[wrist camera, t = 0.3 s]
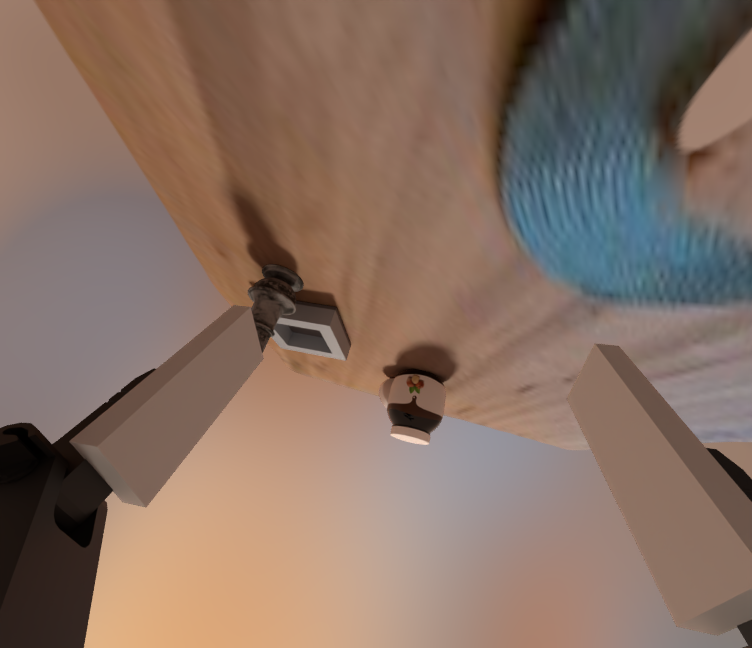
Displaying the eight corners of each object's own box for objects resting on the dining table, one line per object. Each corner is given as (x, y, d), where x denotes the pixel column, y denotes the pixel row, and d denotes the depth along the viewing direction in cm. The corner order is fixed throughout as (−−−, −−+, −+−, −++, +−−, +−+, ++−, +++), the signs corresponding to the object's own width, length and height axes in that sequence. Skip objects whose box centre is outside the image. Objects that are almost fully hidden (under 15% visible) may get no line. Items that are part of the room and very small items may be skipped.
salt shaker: (252, 259, 35) (201, 350, 29) (298, 267, 34) (255, 362, 29) (269, 288, 40) (229, 370, 35) (310, 295, 39) (275, 381, 34)
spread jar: (452, 377, 53) (444, 445, 48) (435, 392, 63) (427, 450, 58) (387, 360, 53) (372, 425, 48) (381, 378, 63) (367, 434, 58)
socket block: (258, 294, 43) (249, 312, 41) (336, 307, 40) (329, 326, 39) (287, 333, 53) (281, 348, 52) (351, 344, 51) (346, 360, 49)
